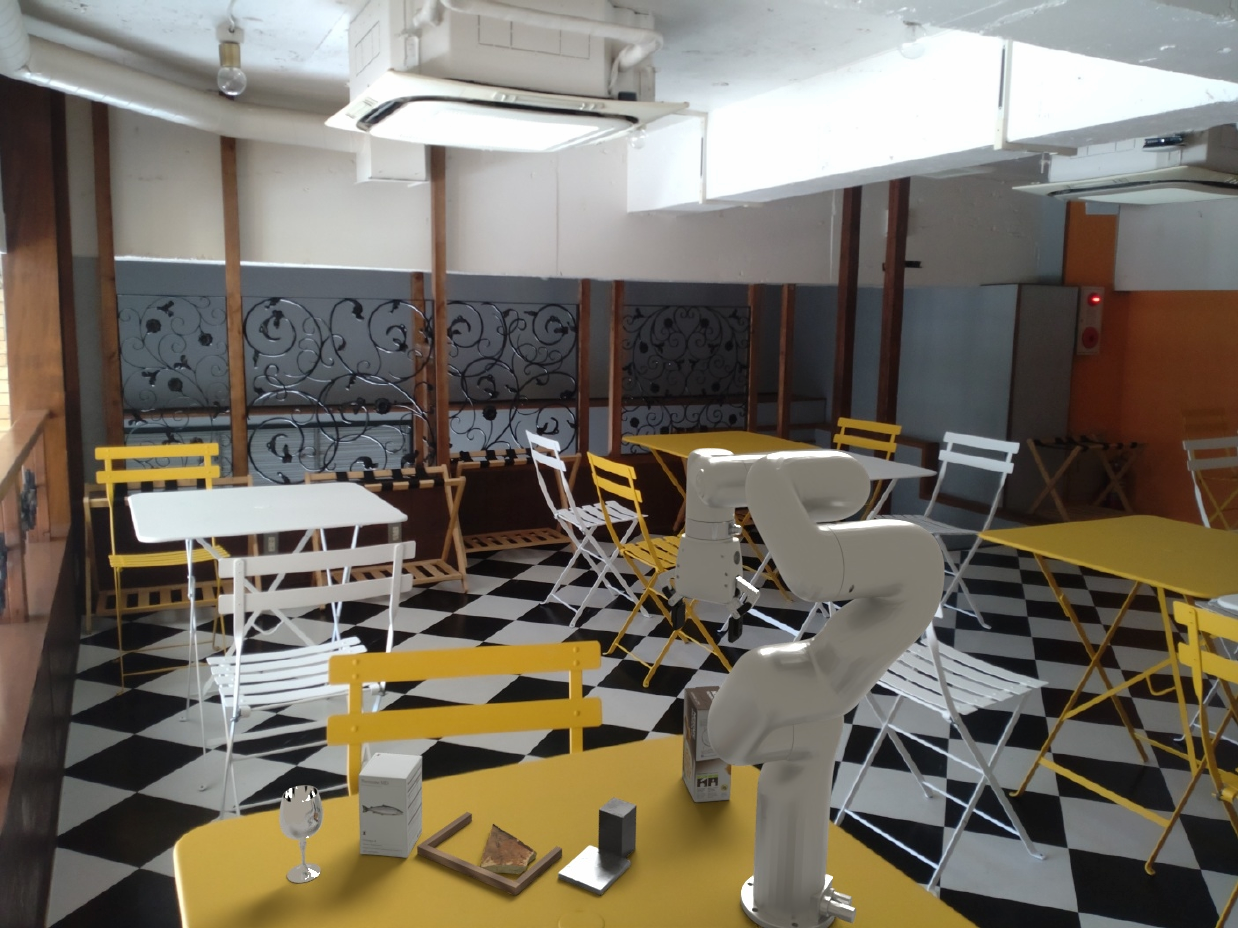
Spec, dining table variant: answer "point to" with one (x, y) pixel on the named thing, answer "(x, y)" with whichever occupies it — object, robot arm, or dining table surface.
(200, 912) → the dining table surface
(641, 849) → the dining table surface
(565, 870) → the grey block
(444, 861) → the frame
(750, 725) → the robot arm
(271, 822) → the dining table surface
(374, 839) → the supplement box
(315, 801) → the wineglass
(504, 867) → the shard
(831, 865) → the dining table surface
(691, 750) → the coffee box
